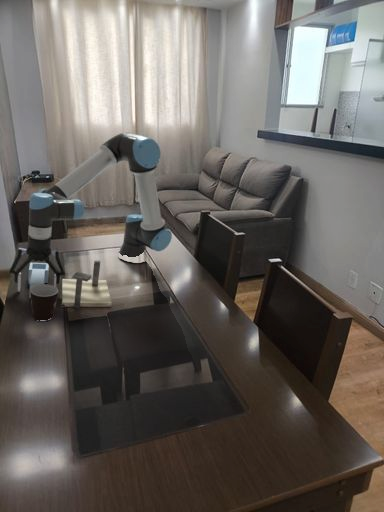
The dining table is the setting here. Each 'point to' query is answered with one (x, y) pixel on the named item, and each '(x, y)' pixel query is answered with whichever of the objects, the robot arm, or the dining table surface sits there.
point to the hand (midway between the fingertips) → (37, 290)
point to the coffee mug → (43, 301)
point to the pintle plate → (86, 290)
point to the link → (38, 274)
